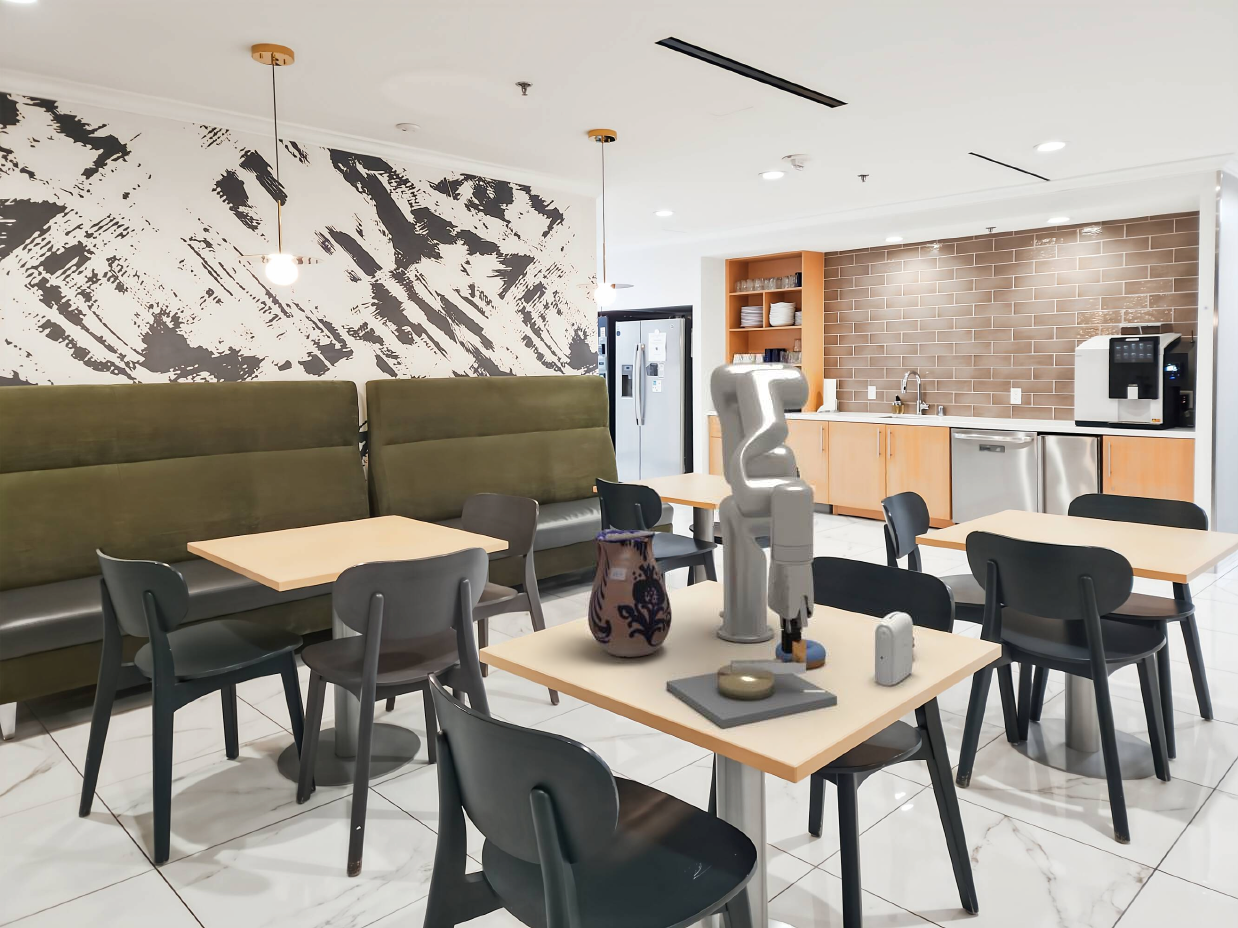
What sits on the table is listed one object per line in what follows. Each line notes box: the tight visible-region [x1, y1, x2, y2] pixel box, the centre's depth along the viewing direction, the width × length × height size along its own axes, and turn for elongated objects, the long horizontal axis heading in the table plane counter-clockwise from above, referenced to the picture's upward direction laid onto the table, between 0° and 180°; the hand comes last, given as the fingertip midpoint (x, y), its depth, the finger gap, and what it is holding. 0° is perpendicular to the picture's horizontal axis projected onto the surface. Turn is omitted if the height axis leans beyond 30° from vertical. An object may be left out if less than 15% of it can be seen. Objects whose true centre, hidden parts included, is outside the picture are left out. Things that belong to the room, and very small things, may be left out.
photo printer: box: [874, 611, 914, 687], centre depth 161 cm, size 10×4×12 cm, turn 140°
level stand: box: [666, 672, 838, 729], centre depth 154 cm, size 20×23×2 cm
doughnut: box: [774, 638, 827, 670], centre depth 172 cm, size 10×10×5 cm
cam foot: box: [716, 640, 807, 700], centre depth 152 cm, size 16×10×8 cm, turn 90°
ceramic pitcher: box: [587, 528, 673, 658], centre depth 181 cm, size 18×21×25 cm
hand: (791, 651), depth 155 cm, fingers closed
